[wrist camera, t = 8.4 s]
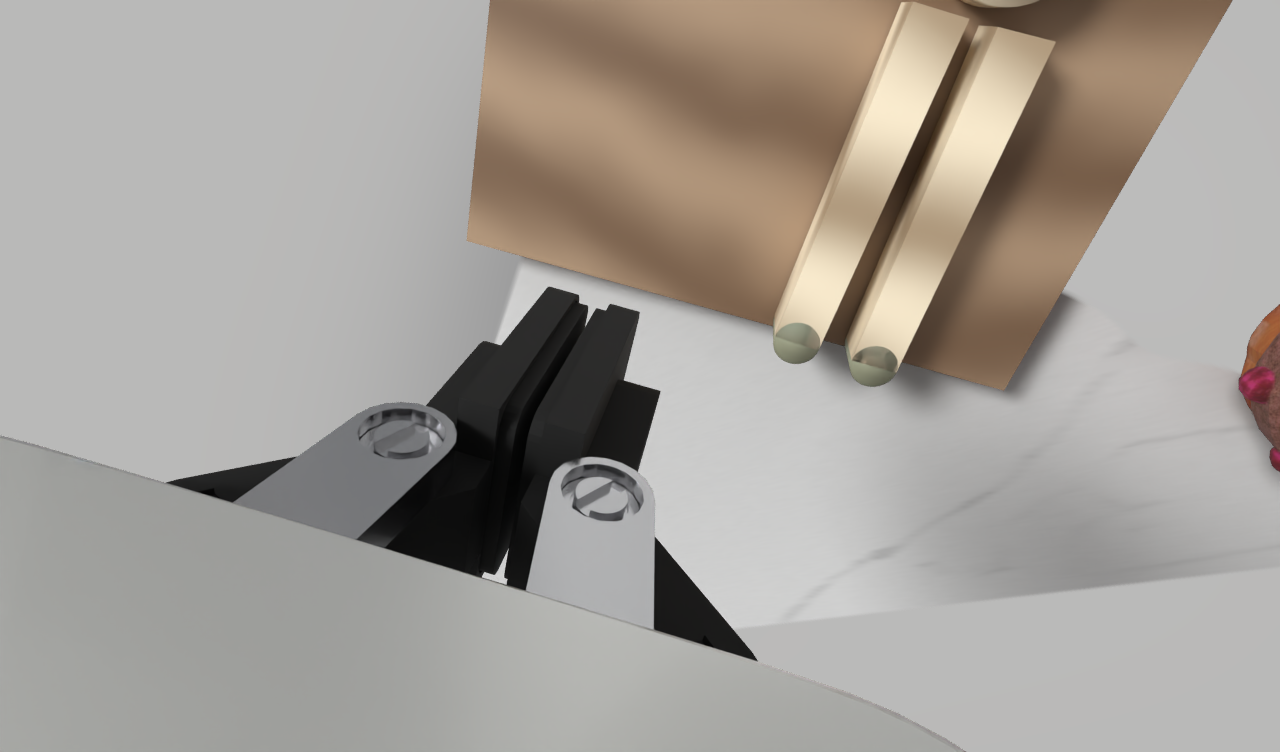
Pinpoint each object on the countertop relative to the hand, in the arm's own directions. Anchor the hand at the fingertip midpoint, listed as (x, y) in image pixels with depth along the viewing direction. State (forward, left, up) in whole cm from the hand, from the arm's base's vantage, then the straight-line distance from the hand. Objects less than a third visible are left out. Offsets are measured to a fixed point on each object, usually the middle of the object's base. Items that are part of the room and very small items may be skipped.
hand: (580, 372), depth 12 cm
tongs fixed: (-3, +9, -17) cm, 19 cm away
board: (-3, +3, -19) cm, 19 cm away
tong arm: (-3, +8, -17) cm, 19 cm away
